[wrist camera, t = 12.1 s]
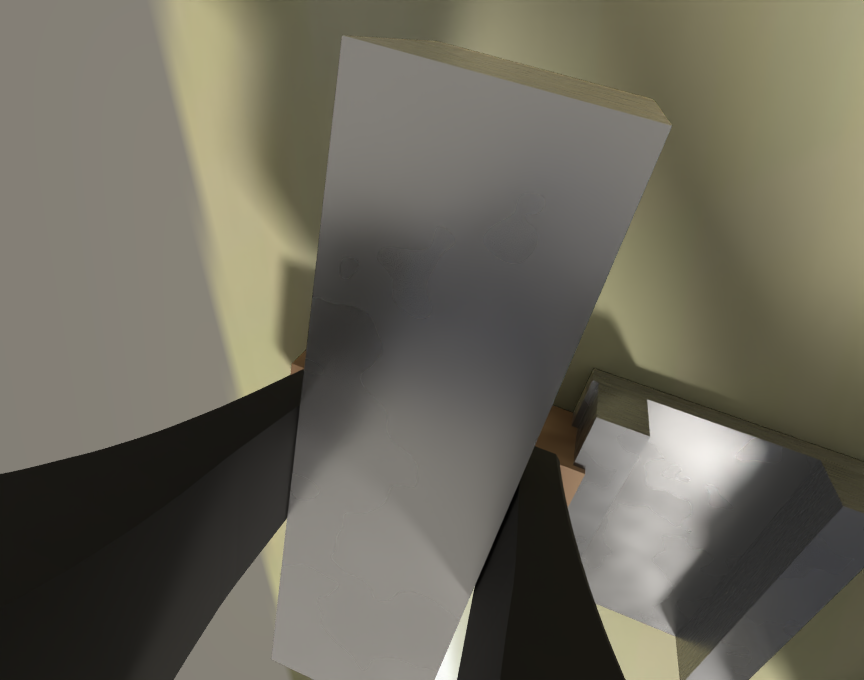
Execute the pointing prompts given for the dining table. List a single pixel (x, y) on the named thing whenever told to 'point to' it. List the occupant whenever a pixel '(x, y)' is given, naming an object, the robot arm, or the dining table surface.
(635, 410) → the block
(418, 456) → the grey rectangular bar
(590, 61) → the dining table surface
